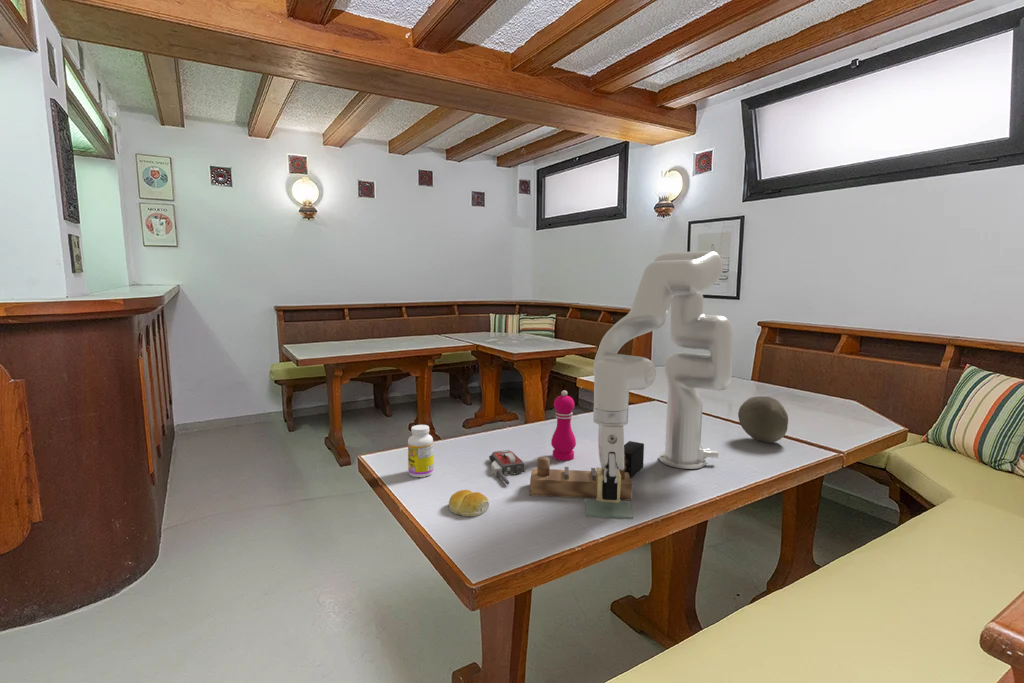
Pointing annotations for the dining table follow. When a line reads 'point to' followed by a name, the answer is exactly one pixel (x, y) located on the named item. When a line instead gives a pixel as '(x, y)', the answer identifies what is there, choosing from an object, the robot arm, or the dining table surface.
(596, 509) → the felt pad
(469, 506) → the bread roll
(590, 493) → the plane body
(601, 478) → the lever cap
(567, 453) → the pepper mill
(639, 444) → the digital camera
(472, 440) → the dining table surface
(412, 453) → the supplement bottle
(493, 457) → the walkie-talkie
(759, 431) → the cantaloupe
